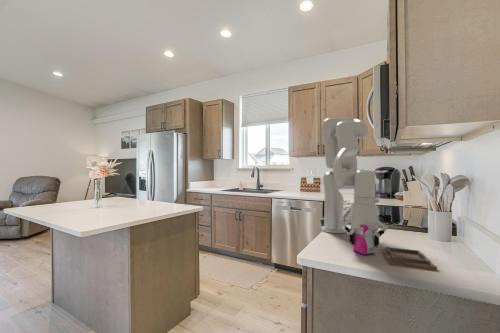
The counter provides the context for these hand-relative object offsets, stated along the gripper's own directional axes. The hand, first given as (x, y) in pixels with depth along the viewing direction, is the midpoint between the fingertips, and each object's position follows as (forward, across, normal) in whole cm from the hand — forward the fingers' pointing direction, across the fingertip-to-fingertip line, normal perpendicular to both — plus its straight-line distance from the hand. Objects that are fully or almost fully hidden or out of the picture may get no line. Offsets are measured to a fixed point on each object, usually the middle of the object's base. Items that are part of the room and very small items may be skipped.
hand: (363, 244), depth 95 cm
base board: (+3, -14, +3) cm, 15 cm away
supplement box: (+3, 0, 0) cm, 3 cm away
